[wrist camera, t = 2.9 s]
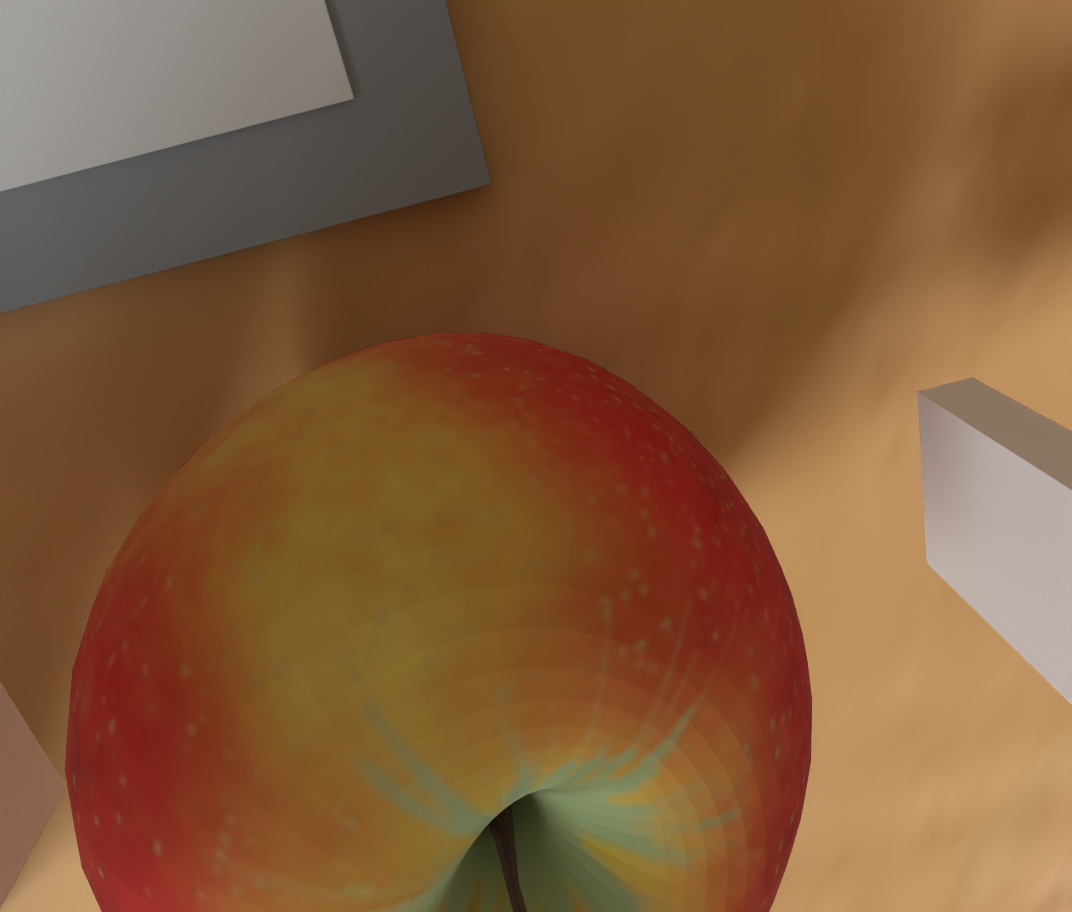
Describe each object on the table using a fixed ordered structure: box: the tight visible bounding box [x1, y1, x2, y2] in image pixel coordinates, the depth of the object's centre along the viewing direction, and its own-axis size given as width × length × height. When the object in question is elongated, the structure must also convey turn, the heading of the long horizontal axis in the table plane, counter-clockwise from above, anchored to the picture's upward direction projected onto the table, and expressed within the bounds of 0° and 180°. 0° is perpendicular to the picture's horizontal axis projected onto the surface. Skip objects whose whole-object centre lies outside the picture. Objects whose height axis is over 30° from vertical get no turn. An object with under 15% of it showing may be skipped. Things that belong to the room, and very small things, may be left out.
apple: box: [65, 333, 812, 912], centre depth 10 cm, size 8×8×10 cm
